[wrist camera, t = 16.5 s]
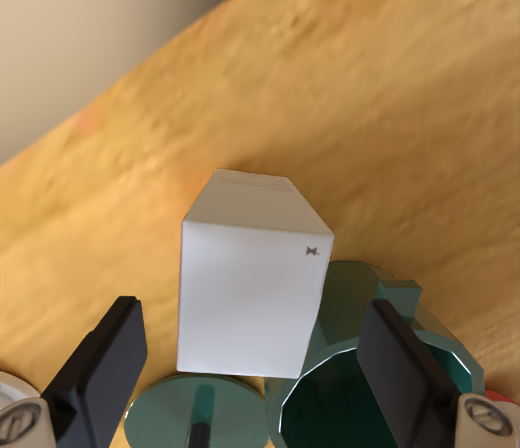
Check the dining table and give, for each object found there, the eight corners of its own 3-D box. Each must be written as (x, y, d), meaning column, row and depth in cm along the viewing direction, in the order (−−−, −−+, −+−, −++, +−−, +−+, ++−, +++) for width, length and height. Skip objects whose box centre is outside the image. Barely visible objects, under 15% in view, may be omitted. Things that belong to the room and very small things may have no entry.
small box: (215, 166, 22) (179, 215, 10) (289, 176, 23) (341, 233, 11) (208, 253, 25) (173, 375, 13) (275, 260, 26) (302, 382, 13)
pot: (256, 400, 32) (261, 506, 23) (266, 233, 25) (279, 293, 16) (387, 397, 33) (440, 497, 24) (433, 236, 26) (535, 295, 17)
